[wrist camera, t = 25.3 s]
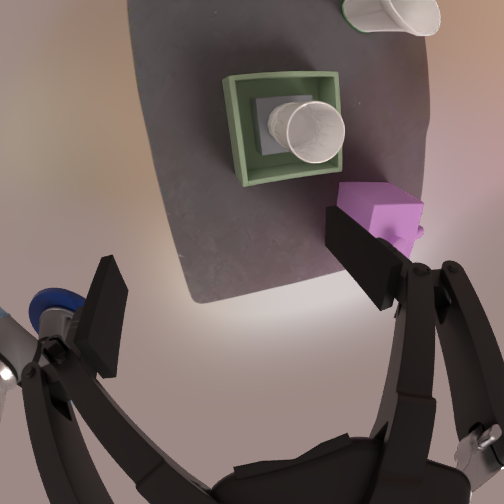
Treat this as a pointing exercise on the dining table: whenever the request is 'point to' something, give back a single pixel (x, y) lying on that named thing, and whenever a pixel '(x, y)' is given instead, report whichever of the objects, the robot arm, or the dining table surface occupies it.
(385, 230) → the teapot
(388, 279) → the robot arm
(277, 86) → the crate
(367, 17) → the cup
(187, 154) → the dining table surface
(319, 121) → the white cup
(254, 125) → the grey block
